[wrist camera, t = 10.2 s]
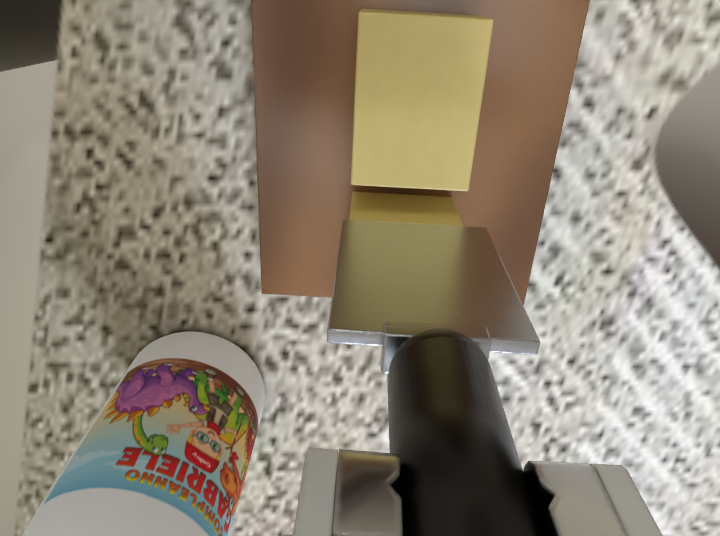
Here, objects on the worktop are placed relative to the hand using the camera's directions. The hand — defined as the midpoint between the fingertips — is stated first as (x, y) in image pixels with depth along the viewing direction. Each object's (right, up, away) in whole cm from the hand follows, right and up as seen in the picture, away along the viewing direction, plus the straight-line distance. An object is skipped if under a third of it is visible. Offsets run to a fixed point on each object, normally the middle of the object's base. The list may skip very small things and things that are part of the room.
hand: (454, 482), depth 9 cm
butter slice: (0, +6, +16) cm, 17 cm away
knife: (0, +5, +10) cm, 11 cm away
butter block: (+1, +11, +13) cm, 17 cm away
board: (0, +11, +15) cm, 18 cm away
